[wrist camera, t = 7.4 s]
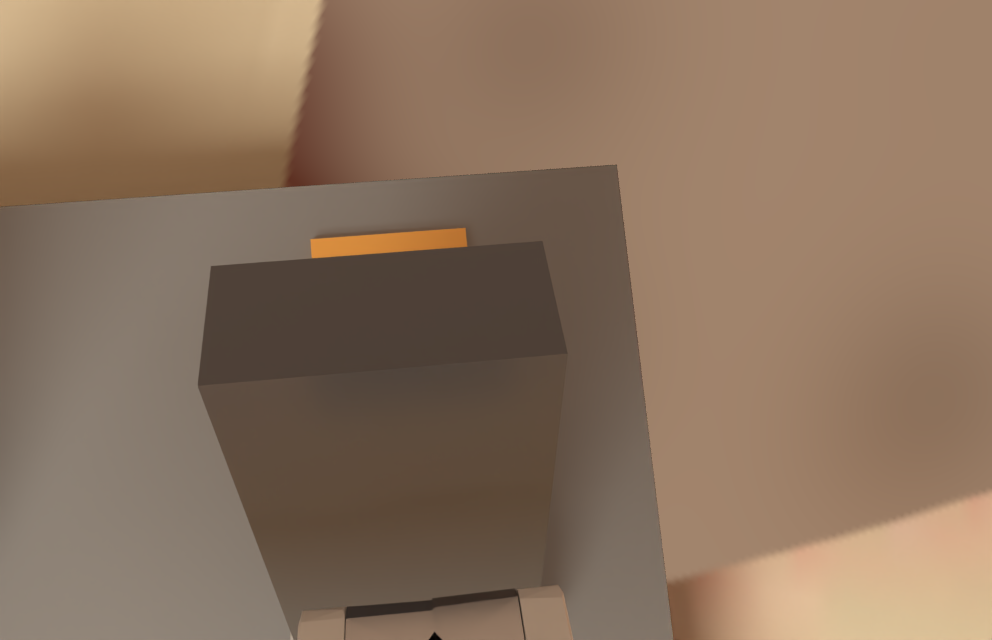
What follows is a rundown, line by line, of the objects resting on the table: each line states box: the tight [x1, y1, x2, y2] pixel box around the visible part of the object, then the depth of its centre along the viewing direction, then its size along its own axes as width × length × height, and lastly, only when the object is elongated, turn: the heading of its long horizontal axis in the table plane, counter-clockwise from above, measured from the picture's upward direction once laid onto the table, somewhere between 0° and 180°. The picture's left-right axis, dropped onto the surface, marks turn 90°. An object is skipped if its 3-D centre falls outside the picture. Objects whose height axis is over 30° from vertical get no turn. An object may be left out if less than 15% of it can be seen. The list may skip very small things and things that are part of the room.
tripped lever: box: [198, 241, 568, 640], centre depth 14 cm, size 5×2×10 cm
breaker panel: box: [0, 165, 673, 640], centre depth 19 cm, size 22×16×3 cm
